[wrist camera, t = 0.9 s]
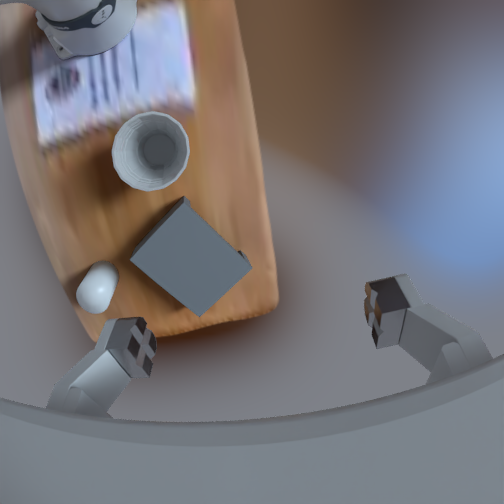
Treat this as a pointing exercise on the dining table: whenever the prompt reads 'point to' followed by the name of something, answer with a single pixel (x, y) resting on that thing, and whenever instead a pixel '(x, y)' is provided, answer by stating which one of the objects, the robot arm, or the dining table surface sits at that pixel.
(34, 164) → the dining table surface
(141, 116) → the plastic cup
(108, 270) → the white rounded domed part
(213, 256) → the shelf
